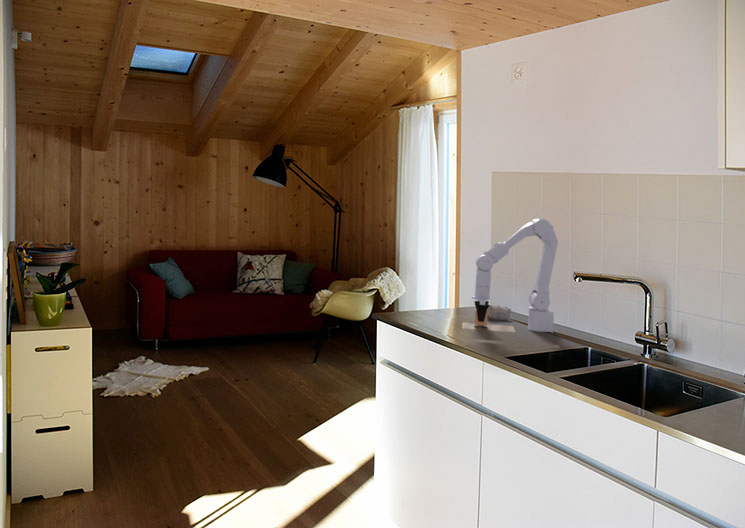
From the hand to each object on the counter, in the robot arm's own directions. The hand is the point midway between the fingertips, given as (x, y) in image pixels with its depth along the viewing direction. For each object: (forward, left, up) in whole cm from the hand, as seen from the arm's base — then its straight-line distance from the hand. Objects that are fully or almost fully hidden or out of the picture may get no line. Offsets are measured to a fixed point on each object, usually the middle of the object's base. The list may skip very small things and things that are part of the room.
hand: (480, 320), depth 251 cm
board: (-3, +1, -3) cm, 5 cm away
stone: (-6, -20, -4) cm, 21 cm away
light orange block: (0, 0, -2) cm, 2 cm away
